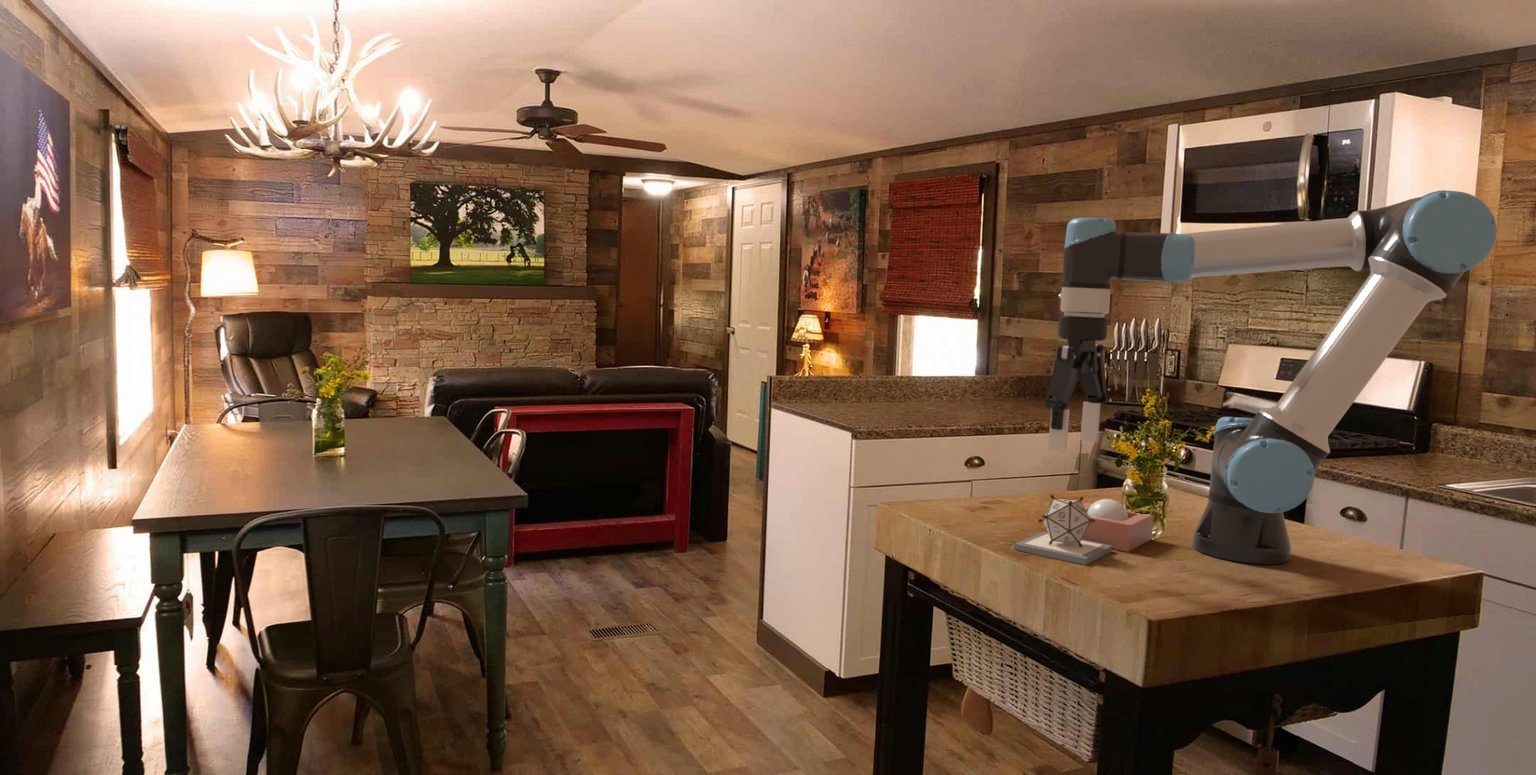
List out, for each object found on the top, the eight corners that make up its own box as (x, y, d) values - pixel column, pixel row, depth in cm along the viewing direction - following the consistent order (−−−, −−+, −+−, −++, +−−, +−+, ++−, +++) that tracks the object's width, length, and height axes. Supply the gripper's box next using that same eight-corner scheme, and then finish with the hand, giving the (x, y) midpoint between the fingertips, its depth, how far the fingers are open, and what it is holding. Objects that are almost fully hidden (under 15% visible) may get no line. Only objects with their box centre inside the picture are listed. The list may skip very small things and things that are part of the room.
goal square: (1112, 551, 174) (1112, 545, 174) (1085, 565, 165) (1085, 558, 165) (1043, 537, 181) (1044, 531, 181) (1014, 549, 172) (1014, 543, 172)
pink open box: (1151, 539, 184) (1153, 514, 184) (1128, 551, 175) (1130, 525, 174) (1084, 526, 191) (1086, 502, 191) (1059, 537, 182) (1061, 512, 181)
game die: (1068, 564, 175) (1101, 515, 176) (1077, 559, 166) (1112, 508, 168) (1022, 532, 177) (1055, 484, 178) (1029, 525, 169) (1064, 475, 170)
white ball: (1132, 539, 184) (1135, 500, 183) (1118, 546, 178) (1122, 505, 177) (1093, 531, 188) (1096, 493, 187) (1078, 538, 182) (1081, 498, 181)
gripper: (1089, 313, 181) (1079, 435, 183) (1029, 313, 161) (1019, 450, 163) (1133, 316, 176) (1122, 440, 179) (1077, 316, 157) (1066, 456, 159)
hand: (1073, 445), depth 171 cm, fingers open, 13 cm apart
